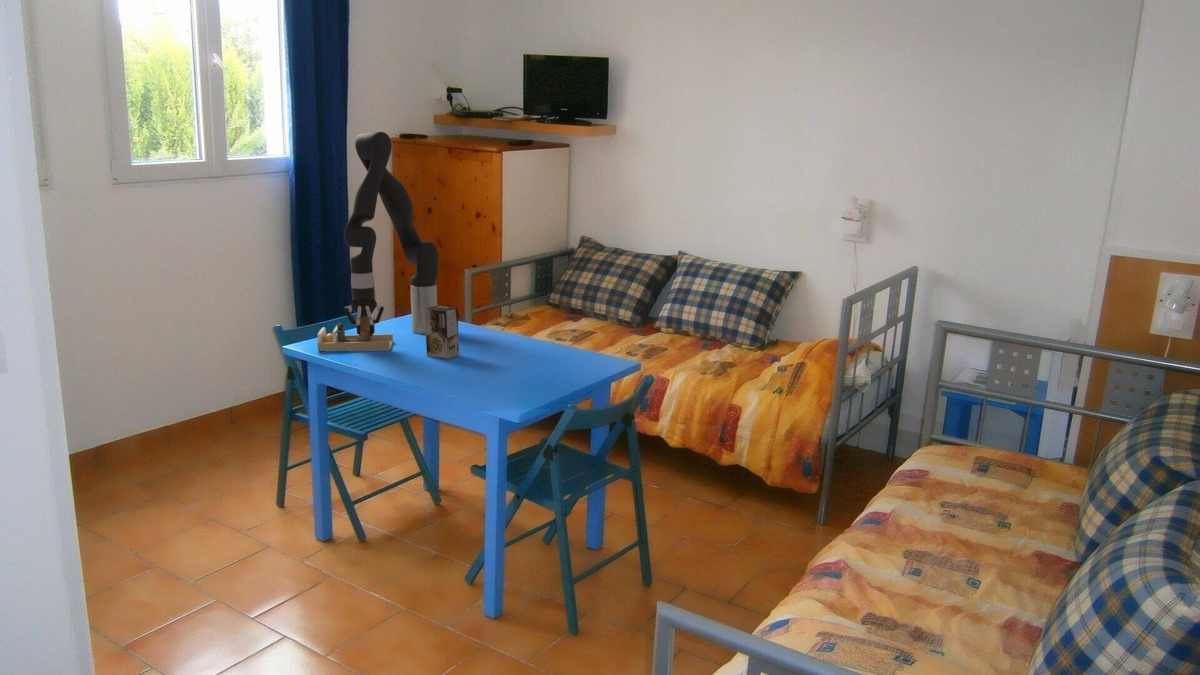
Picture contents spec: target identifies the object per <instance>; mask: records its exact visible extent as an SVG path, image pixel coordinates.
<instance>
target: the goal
mask: <svg viewBox="0 0 1200 675" xmlns="http://www.w3.org/2000/svg"><path fill="white" fill-rule="evenodd" d="M338 330H339V329H338V328H337V325H336V326H335V327H334V329H333V330H332V334H333V343H336V342H337V338H338V336H337V337H336V335H337V331H338ZM326 335H327V331H326V327H324V326H323V327H321V329H320V330H319V331H318V333H317V334H316V336H317V337H316V338H317V344H318V343H325V341H324V338H325V336H326Z"/></svg>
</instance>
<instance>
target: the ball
mask: <svg viewBox="0 0 1200 675" xmlns="http://www.w3.org/2000/svg"><path fill="white" fill-rule="evenodd" d="M324 341H325V343H330V342H333V332H331V333H330V332H329V333H326V336H325V338H324Z"/></svg>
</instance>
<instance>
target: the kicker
mask: <svg viewBox="0 0 1200 675" xmlns="http://www.w3.org/2000/svg"><path fill="white" fill-rule="evenodd" d="M336 326H337V328H338V329H339V330H338V331H337V333H336V335H337V336H338V342H371V340H372V339H371V336H370V322H369V316H368V315H362V316H361V317H360V332H361V339H345V335H346V333H345V332H346V331H345V325H344V323H342V322H340V323H338V324H337V325H336Z"/></svg>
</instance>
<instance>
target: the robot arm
mask: <svg viewBox="0 0 1200 675" xmlns="http://www.w3.org/2000/svg"><path fill="white" fill-rule="evenodd" d="M354 146H355V150H356V153H357V156H358V158H359V160H360V161H361V163H362V165H363V166H364V168H365V170H366V171H367V173H366V175H365V176H364V178H363V179H362V181H361V183H360V185H358V188H357V191H356V194H355V198H354V204H353V210H352V213H351V215H350V217H349V220H348V222H347V224H346V226H345V228H344V231H343V241H344V243H345V244H346V246H348V247H351V248H361V251H360V253H358V254H357V253H356V254H353V255H351V257H350V272H351V274H350V275H351V277H350V286H351V299H352V300H351V301H352V302H350V303H351V304H350V305H348V306H344V308H343V311H344V313H345V315H346V316H347V318H348V321H349V322H350V324H351V325H353V324H354V325H355V326H356V335H359V336H361V332H360V317H361V316H362V315H368V316H369V322H370V336H372V335H373V334H375V331H376V330H375V325H376V324H379V322H380V321H381V319H382V315H383V312H384V310H385V308H386V307H385V305H381V304H378V302H377V301H376V289H375V287H376V286H375V276H374V272H373V271H374V270H373V269H374V267H373V259H374V258H373V257H374V251H375V247H376V244H377V234H376V231H375V229H374V228H373V227H371V226H367V225H366V226H364V225H363V224H364V223H366V222H369V221H372V220H374V218H375V213H376V208H377V201H378V195H379V197H380V200H381V201H382V204H383V206H384V208H385V210H386V213H387V215H388V217H389V218H390V220H391V224H392V225H393V227H394V230H395V232H396V234H397V237H398V240H399V243H400V246H401V249H402V251H403V254H404V257H405V259H406V260H407V261H408V263H410V264H411V265H414V266H416V273H415V275H413V276H411V277H410V279H409V282H410V284H409V287H410V307H411V310H410V311H411V328H412V329H411V331H412V332H413V334H414V333H415V334H426V328H425V309H426V308H429V307H432V306H435V305H437V306H438V298H437V296H438V294H437V280H438V278H439V277H438V276H439V251H438V248H437V246H436V245H435V243H434V242H432V241H427V240H423V239H421V238H420V236H419V233H418V232H417V229H416V227H415V224H414V205H413V202H412V199H411V197H410V196H409V193H408V191H407V189H406V187H405V186H404V185H403V184H402V182H400V181H399V180H398V178H396V177H395V175H393V174H392V173H391V172H390V171H389V170H388V168H387V166H388V162H389V160H390V156H391V154H392V147H393V144H392V140H391V137H390V136H389V135H388V134H387V133H386V132H383V131H371V132H362V133H360V134H358V135H357V136H356V138H355V141H354ZM376 308H377V309H376ZM375 309H376V311H377V312H378V313H377V316H376V318H374V314H373V312H374V311H375ZM353 310H354V312H355V313H356V318H354V315H353V313H352V312H353Z"/></svg>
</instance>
